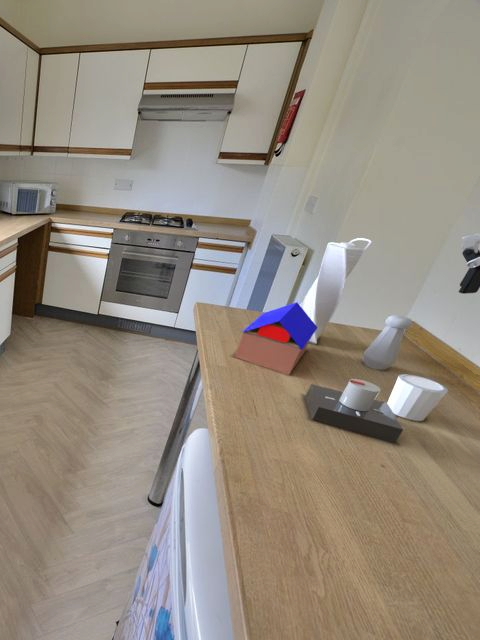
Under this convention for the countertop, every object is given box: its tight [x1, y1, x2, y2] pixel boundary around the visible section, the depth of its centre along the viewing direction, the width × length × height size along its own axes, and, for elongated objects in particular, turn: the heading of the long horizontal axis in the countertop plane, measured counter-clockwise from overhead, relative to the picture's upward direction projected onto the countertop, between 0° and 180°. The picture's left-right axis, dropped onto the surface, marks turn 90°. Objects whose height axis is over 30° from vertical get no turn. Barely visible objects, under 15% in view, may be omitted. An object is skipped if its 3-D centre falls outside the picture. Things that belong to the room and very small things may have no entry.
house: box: [234, 301, 318, 376], centre depth 101 cm, size 12×20×12 cm, turn 134°
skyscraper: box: [299, 237, 373, 345], centre depth 108 cm, size 8×8×28 cm
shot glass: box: [386, 373, 449, 422], centre depth 80 cm, size 7×7×7 cm
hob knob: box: [339, 378, 381, 411], centre depth 77 cm, size 4×4×5 cm
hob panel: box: [305, 383, 404, 444], centre depth 79 cm, size 12×10×3 cm
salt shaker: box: [362, 314, 414, 371], centre depth 97 cm, size 6×6×13 cm
